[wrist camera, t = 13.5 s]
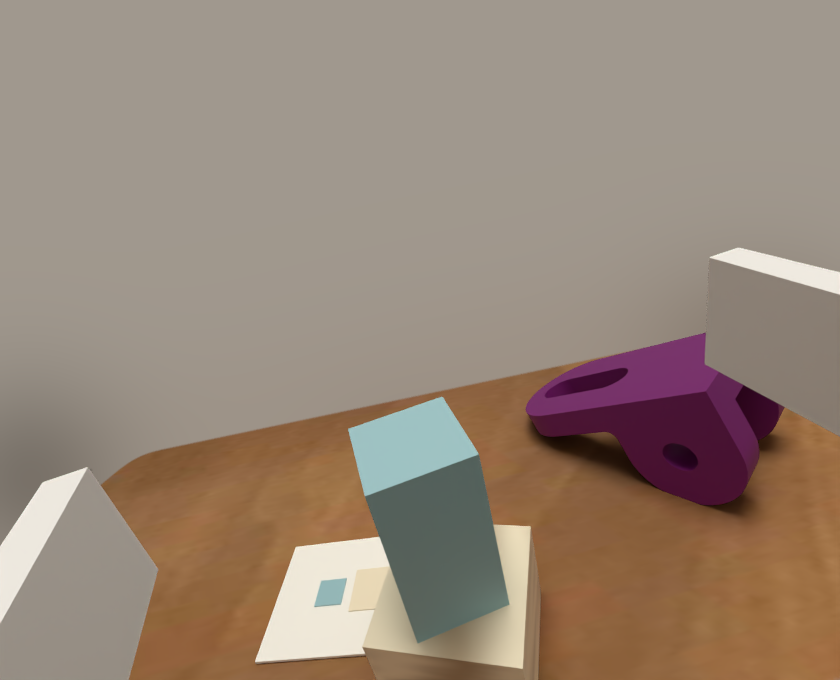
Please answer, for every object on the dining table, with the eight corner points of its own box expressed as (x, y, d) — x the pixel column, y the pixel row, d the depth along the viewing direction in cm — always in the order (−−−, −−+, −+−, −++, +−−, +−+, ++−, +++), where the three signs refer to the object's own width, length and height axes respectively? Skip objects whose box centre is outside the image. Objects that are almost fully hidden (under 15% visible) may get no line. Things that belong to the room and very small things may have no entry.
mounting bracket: (553, 497, 46) (771, 508, 30) (506, 420, 45) (705, 391, 30) (602, 437, 51) (808, 421, 36) (561, 368, 50) (754, 320, 35)
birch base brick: (390, 710, 27) (362, 647, 24) (423, 581, 34) (404, 520, 31) (536, 736, 25) (522, 668, 22) (540, 591, 31) (530, 526, 29)
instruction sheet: (256, 663, 32) (254, 661, 32) (296, 548, 40) (295, 546, 40) (433, 650, 30) (432, 647, 30) (439, 531, 38) (438, 529, 38)
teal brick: (417, 643, 24) (365, 496, 20) (395, 563, 28) (348, 429, 24) (509, 604, 25) (478, 454, 20) (473, 532, 29) (442, 396, 25)
